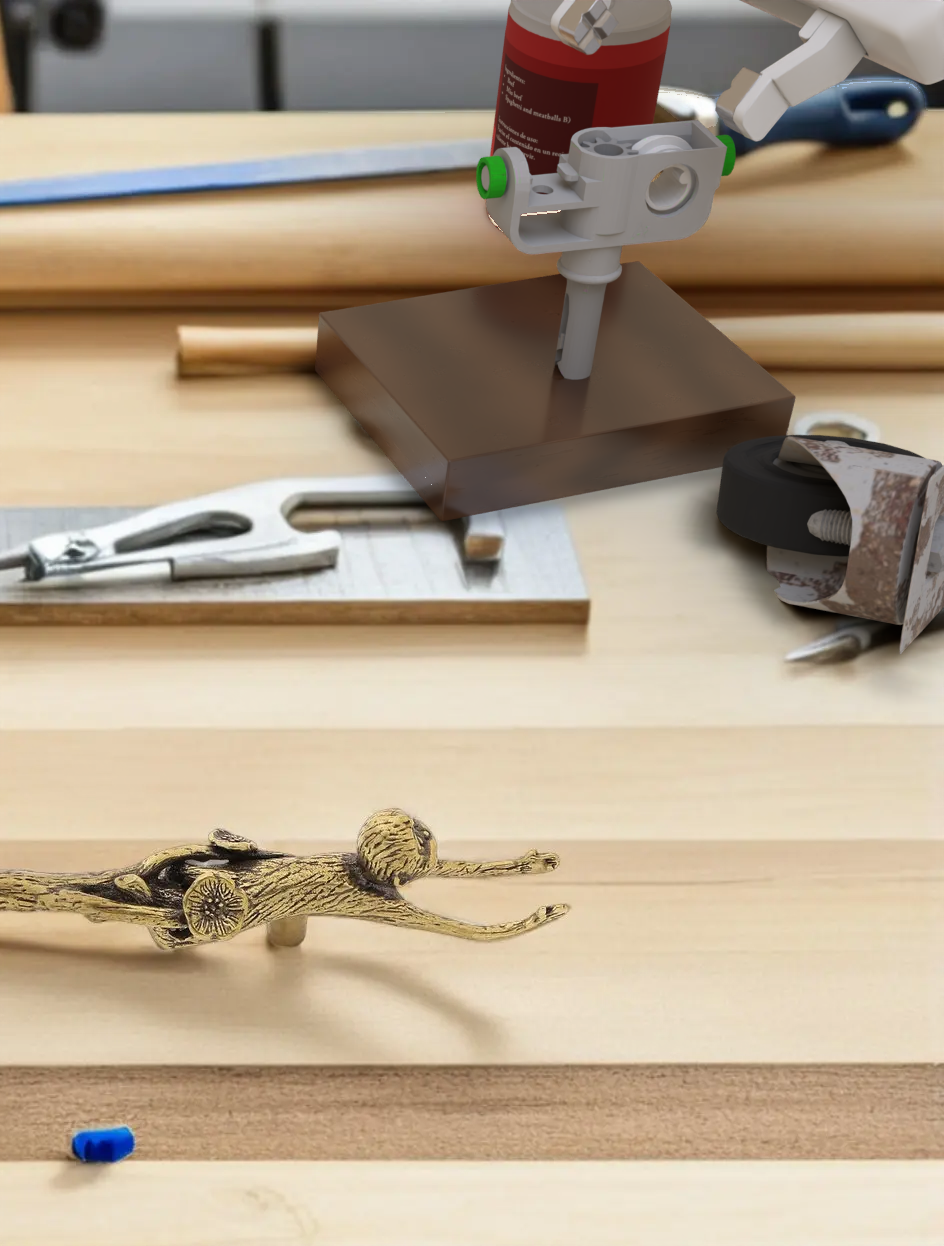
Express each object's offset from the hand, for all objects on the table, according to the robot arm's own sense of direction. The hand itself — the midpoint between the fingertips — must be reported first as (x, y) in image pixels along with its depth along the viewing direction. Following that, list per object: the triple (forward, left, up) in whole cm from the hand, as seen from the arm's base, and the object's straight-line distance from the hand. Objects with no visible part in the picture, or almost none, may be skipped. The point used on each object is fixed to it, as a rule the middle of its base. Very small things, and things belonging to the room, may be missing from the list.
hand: (648, 82), depth 80 cm
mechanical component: (+1, 0, -13) cm, 13 cm away
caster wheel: (-4, +12, -16) cm, 20 cm away
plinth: (+1, -2, -15) cm, 16 cm away
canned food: (-9, -19, -16) cm, 26 cm away
